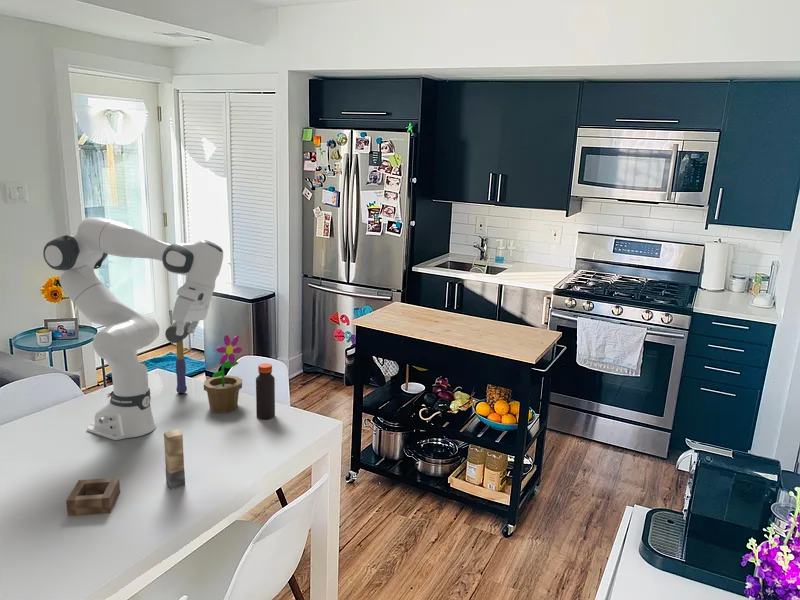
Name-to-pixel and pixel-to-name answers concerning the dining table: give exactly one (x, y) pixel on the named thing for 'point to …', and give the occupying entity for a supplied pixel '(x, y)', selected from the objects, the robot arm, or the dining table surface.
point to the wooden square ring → (93, 496)
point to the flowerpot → (224, 380)
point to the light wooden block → (174, 459)
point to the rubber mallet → (179, 354)
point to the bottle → (265, 392)
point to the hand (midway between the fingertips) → (184, 334)
